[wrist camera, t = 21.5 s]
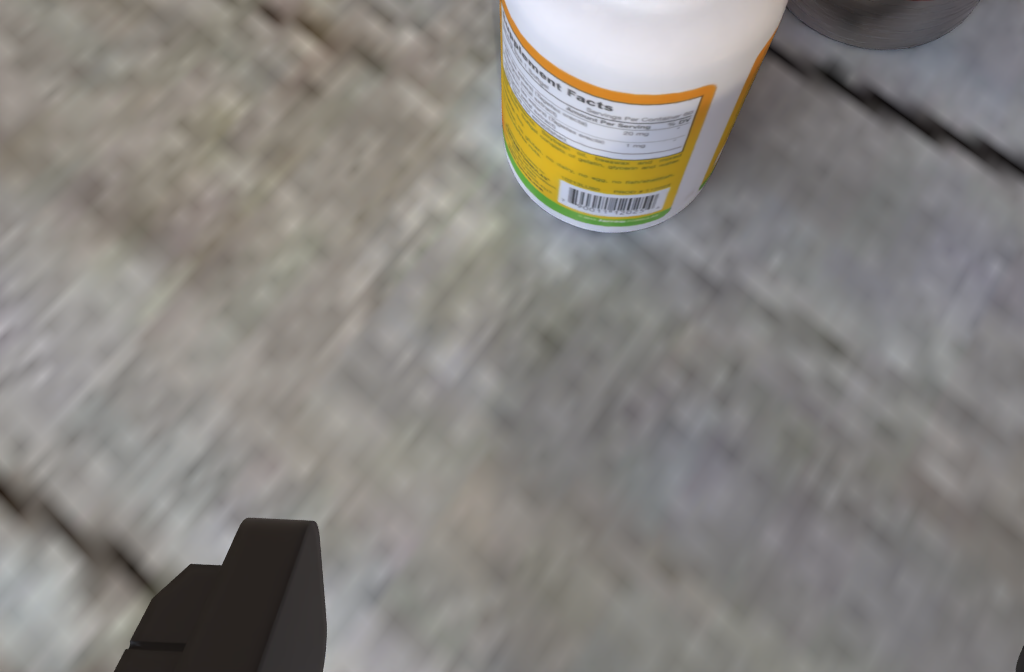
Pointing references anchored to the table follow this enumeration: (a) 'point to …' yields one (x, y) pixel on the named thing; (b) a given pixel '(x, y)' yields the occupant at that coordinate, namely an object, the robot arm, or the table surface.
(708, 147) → the supplement bottle
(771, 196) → the table surface
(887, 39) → the burgundy tin
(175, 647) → the robot arm
